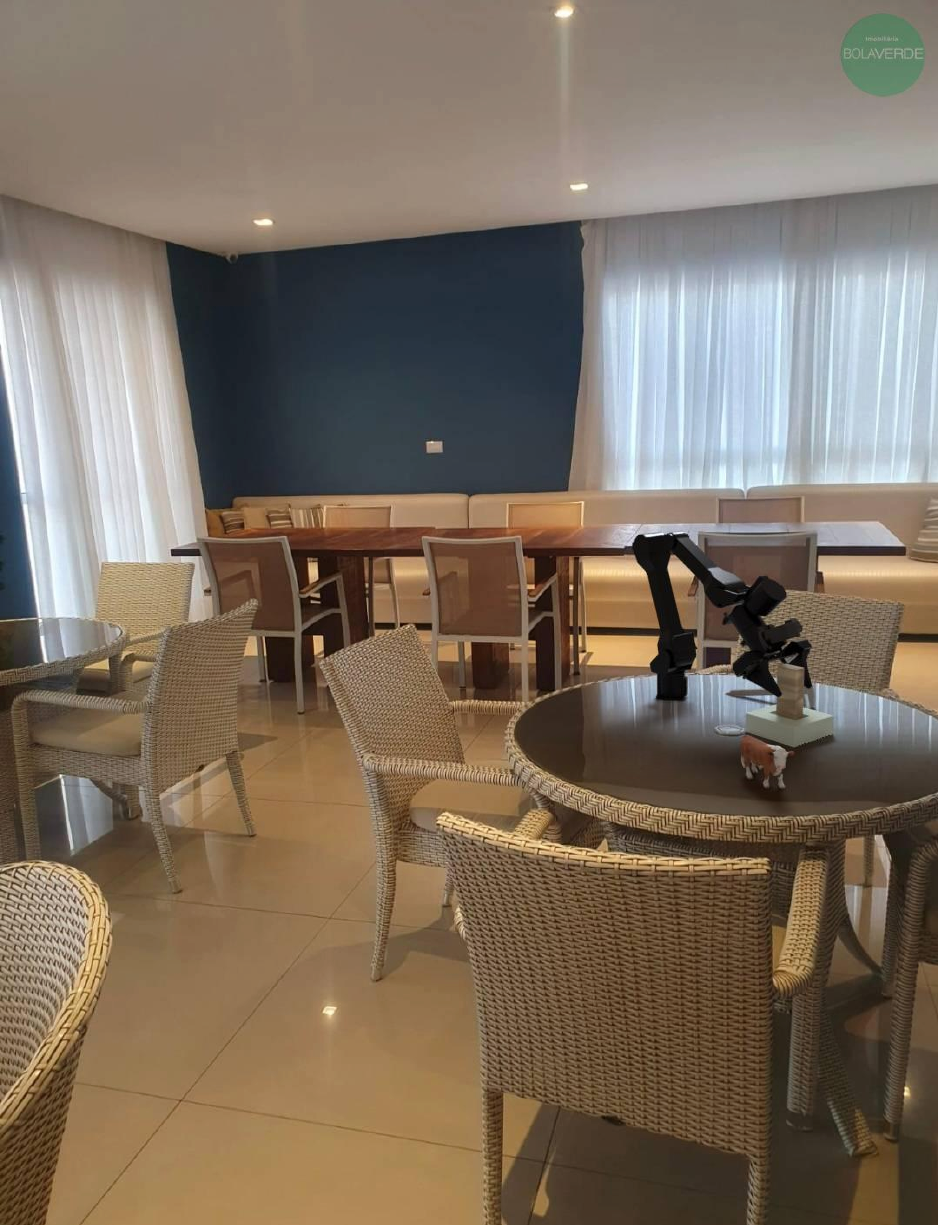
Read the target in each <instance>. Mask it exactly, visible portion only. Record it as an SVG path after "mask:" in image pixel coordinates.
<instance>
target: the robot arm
mask: <svg viewBox="0 0 938 1225" xmlns="http://www.w3.org/2000/svg"><path fill="white" fill-rule="evenodd" d="M631 543H632V544H631V549H632V552H633V554H634V557H635V560H636V563H637V564H638V565H639V566H640V568H641V569H642V570H643V571H644V573H646V577H647V581H648V585H649V589H650V593H651V597H652V601H653V606H654V611H655V614H656V617H657V618H656V619H657V622H658V623H657V624H658V627H659V631H660V632H659V637H658V639H657V640H658V641H657V644H656V647H657V655H655V656H654V658H653V659H652V660H651V661H650V662H649V668H650V672H651V673H653V674H656V695H655V699H656V700H670V701H673V700H674V701H684V700H685V699H686V697H687V695H688V694H689V693H688V692H689V691H688V690H689V689H688V687H689V677H688V676H687V675H686V672H687V671H691V670H692V667H693V664H694V662H695V660H696V658H697V654H698V653H697V650H698V647H697V645H696V642H695V635H694V633H693V632H687V631H686V630H685V629H684V627H683V625H682V621H681V619H680V617H681V616H680V615H679V614H680V613H679V609H678V606H677V602H676V598H675V594H674V588H673V586H672V581H671V577H670V573H669V568H668V566H669V563H670V560H671V557H672V553H673V555H674V556H675V557H676V558H677V559H678V560H679V561H680V562H682V564H683V565H684V566H685V567H686V568H687V569H688V570H689V571H690V572H691V573H692V574H693V576H695V577H696V578H697V579H698V580H699V581H700V582H701V585H703V592H704V594H705V597H707V599H708V600H709V601H710V602H711V604H712V605H713V607H715V608H717V609H724V608H729V607H732V609H731V610H730V611H729V610H728V611H724V612H723V617H722V622H721V623H722V625H723V626H728V625H733V627H734V628H735V630H736V631H737V633H738V635H739V636H740V638H741V639H742V640H741V641H740V645H741V646H742V647H743V648H744V647H747V648H748V651H744V652H743V653H742V654H741V655H740V656H739V657H738V658H737V659H736V660H735V661H734V662H732V664H731V666H732V667H731V668H732V672H733V673H734V675H735V676H736V678H740V677H741V678H742V680H747V681H749V682H751V683H753V684H755V685H757V686H758V687H760V688H761V689H765V690H767V691H768V692H770V693H772V694H773V695H772V696H775V697H776V698H777V697H780V696H782V692H781V690H780V688H779V686H778V685H777V680H775V678H774V676H773V675H772V673H771V672H770V667H769V663H772V662H775V661H780V662H781V664H789V665H794V666H798V667H802V668H804V686H805V687H806V688H808V689H810V688H811V687H812V686H813V682H812V679H811V675H810V672H809V669H808V663H807V660H808V655H809V654H811V650H812V649H813V645H812V644H811V642H810V641H809V640H808V639H805V638H801V633H802V632H803V630H804V629H803V628H804V627H803V624H801V622H800V621H799V619H797V617H793V618H790V619H787V620H785V621H784V623H783V624H779V625H777V626H775V625H774V624H773V623H769V624H767V623H766V620H764V619H763V617H768V616H769V615H770V614H772V612H774V611H775V610H776V608H778V607H779V606H780V604H782V603H783V602H784V601H785V600H786V598H787V597H788V595H787V594H788V593H787V591H786V588H785V587H784V586H783V585H782V584H780V583H779V582H778V581H776V580H774V579H772V578H769V577H768V575H767V574H764V575H759V576H758V577H757V578H756V579H755V581H754V583H753V584H751V585H747V584H746V582H744V581H743V580H742V579H741V578H739V576H737V575H735V574H734V573H731V572H729V571H726V570H724V569H722V568H720V567H719V566H718V565H717V564H716V563H715V562H714V561H713V560H712V559H711V558H710V557H709V556H708V555H707V554H706V553H705V552H704V551H703V550H702V549H701V548H700V547H699V546H698V545H697V544H696V543H695V542H694V541H693V540H692V539H691V538H690V536H689V534H688V533H687V532H686V531H685V532H684V531H683V530H680V531H673V532H672V531H671V532H668V533H665V534H664V533H663V532H662V531H657V532H656V531H655V532H649V533H640V534H638V535H636V536H635V538H634V539H633V542H631ZM794 638H799V639H795V640H792V639H794ZM788 640H791V641H790V642H789V643H788ZM784 646H785V647H784Z"/></svg>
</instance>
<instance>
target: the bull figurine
mask: <svg viewBox="0 0 938 1225" xmlns="http://www.w3.org/2000/svg"><path fill="white" fill-rule="evenodd" d="M739 744H740V746H739V747H740V751H741V754H740V762H741V765H742V767H743V768H744V769H746V773H745V776H746V778H747V779H748V780H753V779H754V777H753V774H758V773H759V771H758V769H759V770H762V768H763V771H764V772H763V773H764V780H763V782H762V784H763V787H764V788H766V789H769V788H770V783H769V779H770V776H771V775H772V776H774V777H777V779H778V786H779V789H783V790H784V789H786V785H785V784H784V781H783V777H784V776H783V775H784V774H783V770H784V769H785V768H786V767H787V766H786V762H787V757H792V756H793V755H795V752H794V751H793V750H791V751H786V749H785V748H783V747H781V746H780V745H773V744H768V743H766V742H764V741H763V740H760V739H758V738H756V737H753V736H751V735H749V734H745V735H744V736H743V738H741V740H740V743H739ZM750 765H751V769H750ZM757 767H758V769H757ZM751 770H752V772H751ZM752 773H753V774H752ZM770 774H771V775H770Z"/></svg>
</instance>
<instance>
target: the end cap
mask: <svg viewBox="0 0 938 1225" xmlns="http://www.w3.org/2000/svg"><path fill="white" fill-rule="evenodd" d="M834 718H835V715H833V714H829V713H826V712H822V711H819V710H815V709H812V708H808V707H803V718H802V719H799V720H792V719H789V718H785V717H782V716H779V715H776V704H772V705H769V706H765V707H762V708H758V709H754V710H752V711H748V712H745V725H744V726H745V727H744V729H745V731H744V732H745V733H749V734H753V735H755V736H758V737H761V738H764V739H767V740H771V741H774V742H777V743H779V744H782V745H785V746H789V747H791V748H796V747H800V746H802V744H803V745H805V744H804V743H806V744H808V742H809V743H811V742H814V741H817V739H818V740H821V739H823V738H822V737H824V738H826V737H825V736H827V737H829V736H828V735H830V736H833V735H834V723H835V722H834V721H835V720H834ZM832 734H833V735H832ZM820 738H821V739H820ZM799 745H800V746H799Z"/></svg>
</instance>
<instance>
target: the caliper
mask: <svg viewBox="0 0 938 1225" xmlns="http://www.w3.org/2000/svg"><path fill="white" fill-rule="evenodd" d="M724 694H725V695H727V696H728V695H730V696H732V697H756V696H759V697H760V696H764V697H765V696H774V695H773V694H772V693H770V692H768V691H767V690H765V689H763V688H742V689H741V688H738V689H731V690H730V691H727V692H726V693H724ZM815 694H816V693H815V690H814V686H813V685H812V687H811V688H810V689H808V688H806V687H805V686H804V695H803V706H804V708H806V707H807V701H806V697H805V695H807V699H808V703H809V709H812V708H813V707H815V697H816V696H815ZM805 706H806V707H805Z"/></svg>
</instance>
